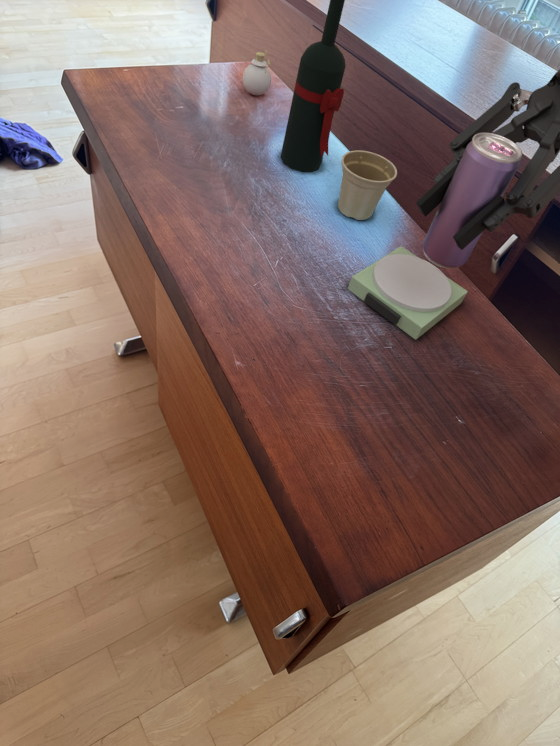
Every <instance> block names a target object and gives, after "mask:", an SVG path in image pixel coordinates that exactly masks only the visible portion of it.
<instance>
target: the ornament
mask: <svg viewBox="0 0 560 746" xmlns="http://www.w3.org/2000/svg"><path fill="white" fill-rule="evenodd" d="M264 52H265V53H264ZM264 52H262V51H257V52H256V53H255V54H256V58H253V59H252V60H251V63H250V64H249V65H247V66H246V68H245V69H244V71H243V73H242V84H243V88H245V90H246V91H247V93H249V94H250V95H253V96H262V95H264V94H266V93H267V92H268V91H269V89H270V87H271V85H272V74H271V71H270V69H269V67H268V66H269V65H271V62H270V60H265V59H264V58H265V57H266V54H268V48H266V49H264Z"/></svg>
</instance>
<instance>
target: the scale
mask: <svg viewBox="0 0 560 746" xmlns="http://www.w3.org/2000/svg"><path fill="white" fill-rule="evenodd" d="M347 290H348V291H349V292H351V293H352V294H354V295H355V296H356V297H358V298H359V299H360V300H361V301H363V302H364V303H365V304H366V305H367V306H369V307H370V308H371V309H373V310H374V311H375V312H376V313H378V314H380V316H382V317H383V318H384V319H386V320H387V321H389V322H390V323H391V324H393V325H394V326H396V327H398V328H399V329H400V330H402V331H403V332H404V333H406V334H407V335H408V336H410V337H411V338H412V339H414V340H418V339H419V338H420V337H422V336H423V335H424V334H425V333H426V332H428V331H429V330H430V329H431V328H432V327H434V326H435V325H436V324H438V323H439V322H440V321H441V320H442V319H444V318H445V317H446V316H448V315H449V314H450V313H451V312H453V311H454V310H455V309H456V308H457V307H459V306H460V305H461V304H462V303H463V301H464V299H465V297H466V296H467V294H468V292H469V291H468V290H466V289H465V288H463V286H460V285H459V284H458V283H456V282H455V281H453V280H452V279H451V278H449V277H447V276H446V275H445V274H444V272H443V271H442V270H440V269H439V268H438V266H436V265H435V264H433V263H432V262H430V261H427V260H425V259H424V258H422V257H421V258H420V257H418V256H416V255H415V254H414V253H413V252H411V251H410V250H408V249H406V248H405V247H403V246H402V245H400V246H398V247H397V248H396V249H394V250H392V251H391V252H388V253H387V254H385V255H384V256H383V257H381V258H379V259H377V260H376V261H375V262H373V263H371V264H370V265H367V266H366V267H365V268H363V269H362V270H360V271H358V272H356V273H355V274H354V275H352V276H351V278H350V281H349V284H348V286H347Z"/></svg>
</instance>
